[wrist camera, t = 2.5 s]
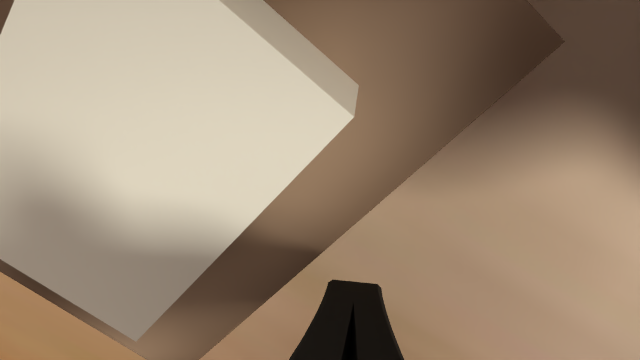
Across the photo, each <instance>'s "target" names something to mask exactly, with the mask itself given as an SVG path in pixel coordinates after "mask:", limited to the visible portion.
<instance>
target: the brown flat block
mask: <svg viewBox="0 0 640 360" xmlns="http://www.w3.org/2000/svg"><path fill="white" fill-rule="evenodd" d="M263 1H265V2H266V3H267V4H268V5H269V6H270V7H271V8H272V9H274V10H275V11H276V12H277V13H278V14H279V15H280V16H281V17H283V18H284V19H285V20H286V21H287V22H288V23H289V24H290V25H292V26H293V27H294V28H295V29H296V30H297V31H298V32H299V33H301V34H302V35H303V36H304V37H305V38H306V39H307V40H308V41H310V42H311V43H312V44H313V45H314V46H315V47H316V48H317V49H319V50H320V51H321V52H322V53H323V54H324V55H325V56H326V57H328V58H329V59H330V60H331V61H332V62H333V63H334V64H335V65H337V66H338V67H339V68H340V69H341V70H342V71H343V72H344V73H346V74H347V75H348V76H349V77H350V78H351V79H352V80H353V81H355V82H356V83H357V84H358V85H359V88H358V94H357V101H356V108H355V115H354V118H353V119H352V120H351V121H350V122H349V123H348V124H347V125H346V126H345V127H344V128H343V129H342V130H341V131H340V132H339V133H338V134H337V135H336V136H335V137H334V138H333V139H332V140H331V141H330V142H329V143H328V144H327V145H326V146H325V147H324V149H323V150H322V151H321V152H320V153H319V154H318V155H317V156H316V157H315V158H314V159H313V160H312V161H311V162H310V163H309V164H308V165H307V166H306V167H305V168H304V169H303V170H302V171H301V172H300V173H299V174H298V175H297V176H296V177H295V178H294V179H293V180H292V182H291V183H290V184H289V185H288V186H287V187H286V188H285V189H284V190H283V191H282V192H281V193H280V194H279V195H278V196H277V197H276V198H275V199H274V200H273V201H272V202H271V203H270V204H269V205H268V206H267V207H266V208H265V209H264V210H263V211H262V212H261V213H260V214H259V216H258V217H257V218H256V219H255V220H254V221H253V222H252V223H251V224H250V225H249V226H248V227H247V228H246V229H245V230H244V231H243V232H242V233H241V234H240V235H239V236H238V237H237V238H236V239H235V240H234V241H233V242H232V243H231V244H230V245H229V246H228V247H227V248H226V250H225V251H224V252H223V253H222V254H221V255H220V256H219V257H218V258H217V259H216V260H215V261H214V262H213V263H212V264H211V265H210V266H209V267H208V268H207V269H206V270H205V271H204V272H203V273H202V274H201V275H200V276H199V277H198V278H197V279H196V280H195V281H194V282H193V284H192V285H191V286H190V287H189V288H188V289H187V290H186V291H185V292H184V293H183V294H182V295H181V296H180V297H179V298H178V299H177V300H176V301H175V302H174V303H173V304H172V305H171V306H170V307H169V308H168V309H167V310H166V311H165V312H164V313H163V314H162V315H161V317H160V318H159V319H158V320H157V321H156V322H155V323H154V324H153V325H152V326H151V327H150V328H149V329H148V330H147V331H146V332H145V333H144V334H143V335H142V336H141V337H140V338H139V339H138V340H137V341H134V340H132V339H131V338H129V337H127V336H126V335H124V334H122V333H121V332H119V331H118V330H116V329H114V328H113V327H111V326H109V325H108V324H106V323H104V322H103V321H101V320H99V319H98V318H96V317H95V316H93V315H91V314H90V313H88V312H86V311H85V310H83V309H81V308H80V307H78V306H76V305H75V304H73V303H71V302H70V301H68V300H67V299H65V298H63V297H62V296H60V295H58V294H57V293H55V292H53V291H52V290H50V289H48V288H47V287H45V286H44V285H42V284H40V283H39V282H37V281H35V280H34V279H32V278H30V277H29V276H27V275H25V274H24V273H22V272H20V271H19V270H17V269H16V268H14V267H12V266H11V265H9V264H7V263H6V262H4V261H2V260H1V259H0V272H2V273H3V274H5V275H7V276H8V277H10V278H12V279H13V280H15V281H17V282H18V283H20V284H22V285H23V286H25V287H27V288H28V289H30V290H32V291H33V292H35V293H37V294H38V295H40V296H42V297H43V298H45V299H47V300H48V301H50V302H52V303H53V304H55V305H57V306H58V307H60V308H62V309H63V310H65V311H67V312H68V313H70V314H72V315H73V316H75V317H77V318H78V319H80V320H82V321H83V322H85V323H87V324H88V325H90V326H92V327H93V328H95V329H97V330H98V331H100V332H102V333H103V334H105V335H107V336H108V337H110V338H112V339H113V340H115V341H117V342H118V343H120V344H122V345H123V346H125V347H127V348H128V349H130V350H132V351H133V352H135V353H137V354H138V355H140V356H142V357H143V358H145V359H147V360H199V359H200V358H201V357H203V356H204V355H205V354H206V353H207V352H208V351H210V350H211V349H212V348H213V347H214V346H215V345H216V344H218V343H219V342H220V341H221V340H222V339H223V338H224V337H226V336H227V335H228V334H229V333H230V332H231V331H233V330H234V329H235V328H236V327H237V326H238V325H239V324H241V323H242V322H243V321H244V320H245V319H246V318H247V317H249V316H250V315H251V314H252V313H253V312H254V311H256V310H257V309H258V308H259V307H260V306H261V305H262V304H264V303H265V302H266V301H267V300H268V299H269V298H270V297H272V296H273V295H274V294H275V293H276V292H277V291H279V290H280V289H281V288H282V287H283V286H284V285H285V284H287V283H288V282H289V281H290V280H291V279H292V278H293V277H295V276H296V275H297V274H298V273H299V272H300V271H302V270H303V269H304V268H305V267H306V266H307V265H308V264H310V263H311V262H312V261H313V260H314V259H315V258H316V257H318V256H319V255H320V254H321V253H322V252H323V251H325V250H326V249H327V248H328V247H329V246H330V245H331V244H333V243H334V242H335V241H336V240H337V239H338V238H339V237H341V236H342V235H343V234H344V233H345V232H346V231H348V230H349V229H350V228H351V227H352V226H353V225H354V224H356V223H357V222H358V221H359V220H360V219H361V218H362V217H364V216H365V215H366V214H367V213H368V212H369V211H371V210H372V209H373V208H374V207H375V206H376V205H377V204H379V203H380V202H381V201H382V200H383V199H384V198H385V197H387V196H388V195H389V194H390V193H391V192H392V191H394V190H395V189H396V188H397V187H398V186H399V185H400V184H402V183H403V182H404V181H405V180H406V179H407V178H408V177H410V176H411V175H412V174H413V173H414V172H415V171H417V170H418V169H419V168H420V167H421V166H422V165H423V164H425V163H426V162H427V161H428V160H429V159H430V158H431V157H433V156H434V155H435V154H436V153H437V152H438V151H440V150H441V149H442V148H443V147H444V146H445V145H446V144H448V143H449V142H450V141H451V140H452V139H453V138H454V137H456V136H457V135H458V134H459V133H460V132H461V131H463V130H464V129H465V128H466V127H467V126H468V125H469V124H471V123H472V122H473V121H474V120H475V119H476V118H477V117H479V116H480V115H481V114H482V113H483V112H484V111H486V110H487V109H488V108H489V107H490V106H491V105H492V104H494V103H495V102H496V101H497V100H498V99H499V98H500V97H502V96H503V95H504V94H505V93H506V92H507V91H509V90H510V89H511V88H512V87H513V86H514V85H515V84H517V83H518V82H519V81H520V80H521V79H522V78H523V77H525V76H526V75H527V74H528V73H529V72H530V71H532V70H533V69H534V68H535V67H536V66H537V65H538V64H540V63H541V62H542V61H543V60H544V59H545V58H546V57H548V56H549V55H550V54H551V53H552V52H553V51H555V50H556V49H557V48H558V47H559V46H560V45H561V44H563V43H564V42H565V41H564V40H563V39H562V38H561V37H560V36H559V35H558V34H557V33H556V32H555V31H554V29H553V28H552V27H551V26H550V25H549V24H548V23H547V22H546V21H545V20H544V19H543V18H542V16H541V15H540V14H539V13H538V12H537V11H536V10H535V9H534V8H533V7H532V6H531V5H530V3H529V2H528V1H527V0H263ZM13 3H14V0H0V34H1V32H2V29H3V27H4V25H5V22H6V20H7V17H8V15H9V12H10V10H11V7H12V5H13Z"/></svg>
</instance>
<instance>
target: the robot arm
mask: <svg viewBox="0 0 640 360" xmlns="http://www.w3.org/2000/svg"><path fill="white" fill-rule="evenodd" d="M289 360H404V358H403V356H402V354H401V351H400V349H399V346H398V344H397V341H396V338H395V336H394V333H393V331H392V328H391V325H390V322H389V319H388V316H387V312H386V309H385V305H384V301H383V297H382V291H381V287H380V286H379V285H378V284H370V283H360V282H351V281H341V280H332V281H330V282H328V286H327V289H326V292H325V295H324V297H323V300H322V302H321V304H320V307H319V309H318V311H317V313H316V315H315V317H314V319H313V320H312V322H311V324H310V326H309V328H308V329H307V331H306V333H305V335H304V337H303V338H302V340H301V342H300V343H299V345H298V346H297V348H296V349H295V351H294V353H293V354H292V356H291V357H290V359H289Z"/></svg>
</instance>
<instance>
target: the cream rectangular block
mask: <svg viewBox="0 0 640 360" xmlns="http://www.w3.org/2000/svg"><path fill="white" fill-rule="evenodd" d="M358 88H359V85H358V84H357V83H356V82H355V81H353V80H352V79H351V78H350V77H349V76H348V75H347V74H346V73H344V72H343V71H342V70H341V69H340V68H339V67H338V66H337V65H335V64H334V63H333V62H332V61H331V60H330V59H329V58H328V57H326V56H325V55H324V54H323V53H322V52H321V51H320V50H319V49H317V48H316V47H315V46H314V45H313V44H312V43H311V42H310V41H308V40H307V39H306V38H305V37H304V36H303V35H302V34H301V33H299V32H298V31H297V30H296V29H295V28H294V27H293V26H292V25H290V24H289V23H288V22H287V21H286V20H285V19H284V18H283V17H281V16H280V15H279V14H278V13H277V12H276V11H275V10H274V9H272V8H271V7H270V6H269V5H268V4H267V3H266V2H265V1H263V0H14V3H13V5H12V7H11V10H10V12H9V15H8V17H7V20H6V22H5V25H4V27H3V29H2V32H1V34H0V259H1V260H2V261H4V262H6V263H7V264H9V265H11V266H12V267H14V268H16V269H17V270H19V271H20V272H22V273H24V274H25V275H27V276H29V277H30V278H32V279H34V280H35V281H37V282H39V283H40V284H42V285H44V286H45V287H47V288H48V289H50V290H52V291H53V292H55V293H57V294H58V295H60V296H62V297H63V298H65V299H67V300H68V301H70V302H71V303H73V304H75V305H76V306H78V307H80V308H81V309H83V310H85V311H86V312H88V313H90V314H91V315H93V316H95V317H96V318H98V319H99V320H101V321H103V322H104V323H106V324H108V325H109V326H111V327H113V328H114V329H116V330H118V331H119V332H121V333H122V334H124V335H126V336H127V337H129V338H131V339H132V340H134V341H137V340H138V339H139V338H140V337H141V336H142V335H143V334H144V333H145V332H146V331H147V330H148V329H149V328H150V327H151V326H152V325H153V324H154V323H155V322H156V321H157V320H158V319H159V318H160V317H161V315H162V314H163V313H164V312H165V311H166V310H167V309H168V308H169V307H170V306H171V305H172V304H173V303H174V302H175V301H176V300H177V299H178V298H179V297H180V296H181V295H182V294H183V293H184V292H185V291H186V290H187V289H188V288H189V287H190V286H191V285H192V284H193V282H194V281H195V280H196V279H197V278H198V277H199V276H200V275H201V274H202V273H203V272H204V271H205V270H206V269H207V268H208V267H209V266H210V265H211V264H212V263H213V262H214V261H215V260H216V259H217V258H218V257H219V256H220V255H221V254H222V253H223V252H224V251H225V250H226V248H227V247H228V246H229V245H230V244H231V243H232V242H233V241H234V240H235V239H236V238H237V237H238V236H239V235H240V234H241V233H242V232H243V231H244V230H245V229H246V228H247V227H248V226H249V225H250V224H251V223H252V222H253V221H254V220H255V219H256V218H257V217H258V216H259V214H260V213H261V212H262V211H263V210H264V209H265V208H266V207H267V206H268V205H269V204H270V203H271V202H272V201H273V200H274V199H275V198H276V197H277V196H278V195H279V194H280V193H281V192H282V191H283V190H284V189H285V188H286V187H287V186H288V185H289V184H290V183H291V182H292V180H293V179H294V178H295V177H296V176H297V175H298V174H299V173H300V172H301V171H302V170H303V169H304V168H305V167H306V166H307V165H308V164H309V163H310V162H311V161H312V160H313V159H314V158H315V157H316V156H317V155H318V154H319V153H320V152H321V151H322V150H323V149H324V147H325V146H326V145H327V144H328V143H329V142H330V141H331V140H332V139H333V138H334V137H335V136H336V135H337V134H338V133H339V132H340V131H341V130H342V129H343V128H344V127H345V126H346V125H347V124H348V123H349V122H350V121H351V120H352V119H353V118H354V115H355V108H356V101H357V94H358Z"/></svg>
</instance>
